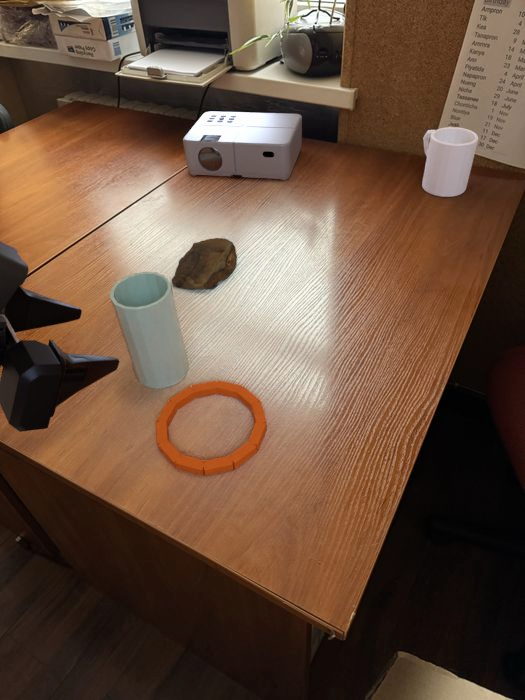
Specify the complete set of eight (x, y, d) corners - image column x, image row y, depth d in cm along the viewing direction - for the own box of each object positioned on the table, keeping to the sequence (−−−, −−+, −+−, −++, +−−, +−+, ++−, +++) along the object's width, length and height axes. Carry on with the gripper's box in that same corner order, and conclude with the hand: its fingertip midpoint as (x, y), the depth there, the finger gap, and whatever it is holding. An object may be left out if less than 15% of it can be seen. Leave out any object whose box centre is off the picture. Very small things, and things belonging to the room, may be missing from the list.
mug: (434, 166, 103) (444, 117, 96) (474, 191, 95) (488, 138, 88) (401, 175, 101) (409, 125, 94) (439, 201, 93) (450, 148, 86)
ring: (161, 485, 53) (159, 479, 52) (155, 398, 62) (153, 392, 61) (276, 461, 55) (275, 455, 54) (253, 379, 63) (253, 373, 62)
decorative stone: (220, 296, 76) (218, 277, 73) (163, 287, 78) (159, 269, 76) (242, 258, 83) (240, 239, 81) (189, 250, 85) (186, 232, 83)
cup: (137, 393, 63) (109, 313, 54) (135, 356, 67) (110, 277, 58) (191, 383, 63) (173, 302, 54) (185, 347, 68) (168, 267, 59)
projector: (209, 145, 117) (204, 109, 111) (302, 148, 113) (303, 112, 107) (186, 177, 105) (179, 140, 100) (289, 183, 101) (288, 144, 96)
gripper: (-61, 302, 29) (168, 313, 40) (-108, 189, 40) (81, 221, 51) (-80, 449, 34) (131, 422, 44) (-117, 310, 45) (58, 316, 56)
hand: (98, 337), depth 49 cm, fingers open, 9 cm apart
